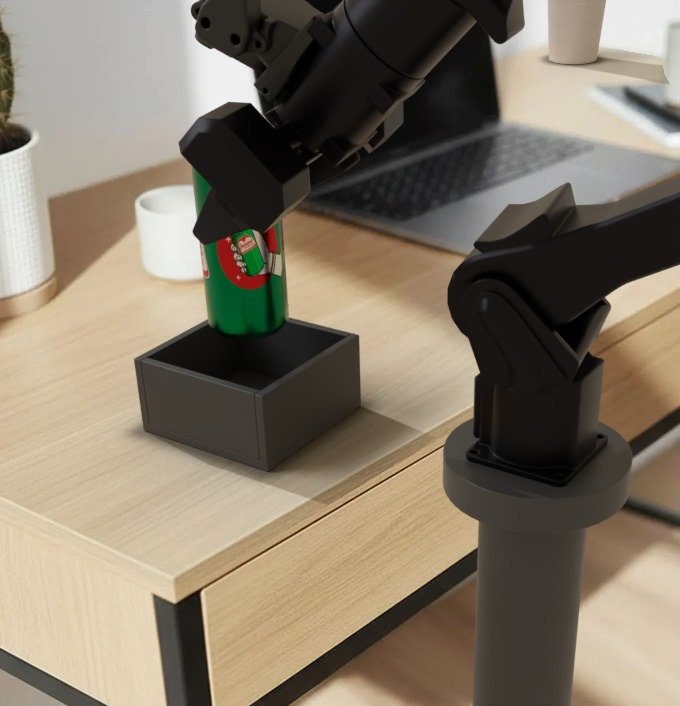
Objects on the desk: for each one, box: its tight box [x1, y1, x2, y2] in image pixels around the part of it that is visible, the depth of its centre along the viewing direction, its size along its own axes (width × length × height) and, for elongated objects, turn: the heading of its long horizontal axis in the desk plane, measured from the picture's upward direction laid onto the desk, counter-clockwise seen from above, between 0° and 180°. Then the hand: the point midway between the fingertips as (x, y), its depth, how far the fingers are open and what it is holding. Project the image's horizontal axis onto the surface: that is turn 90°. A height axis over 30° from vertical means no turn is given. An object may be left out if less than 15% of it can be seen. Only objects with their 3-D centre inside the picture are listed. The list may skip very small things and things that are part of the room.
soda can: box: [190, 164, 290, 340], centre depth 72 cm, size 5×5×12 cm
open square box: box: [133, 317, 362, 472], centre depth 77 cm, size 10×10×5 cm
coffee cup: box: [547, 0, 607, 65], centre depth 161 cm, size 10×10×15 cm
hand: (219, 224), depth 72 cm, fingers closed on soda can, 5 cm apart
